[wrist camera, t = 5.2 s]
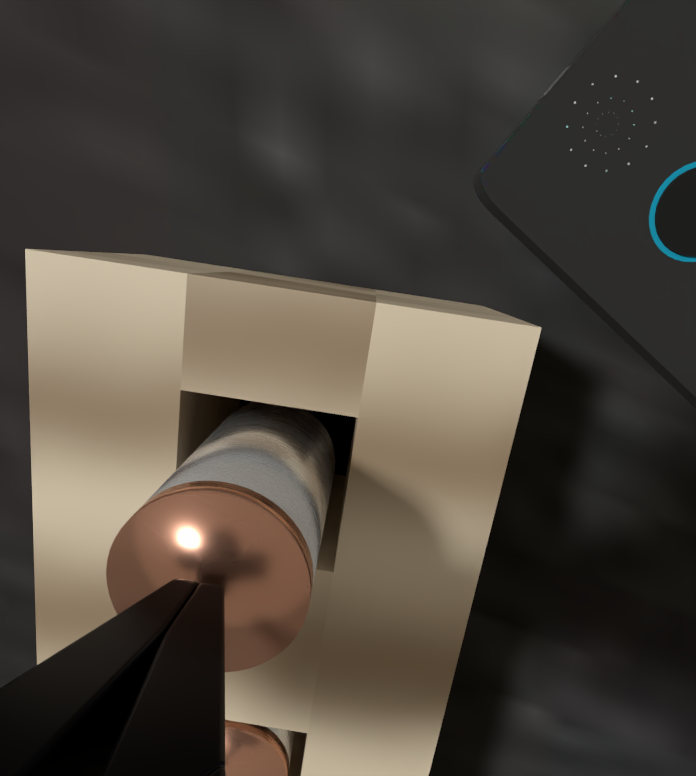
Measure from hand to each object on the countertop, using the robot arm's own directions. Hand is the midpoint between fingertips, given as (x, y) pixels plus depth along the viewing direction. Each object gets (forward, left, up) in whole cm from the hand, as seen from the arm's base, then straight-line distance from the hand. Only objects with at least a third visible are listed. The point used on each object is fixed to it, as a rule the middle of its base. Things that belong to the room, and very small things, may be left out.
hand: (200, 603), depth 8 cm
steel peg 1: (0, 0, -6) cm, 6 cm away
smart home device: (+7, -15, -11) cm, 20 cm away
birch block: (-5, 0, -10) cm, 11 cm away
